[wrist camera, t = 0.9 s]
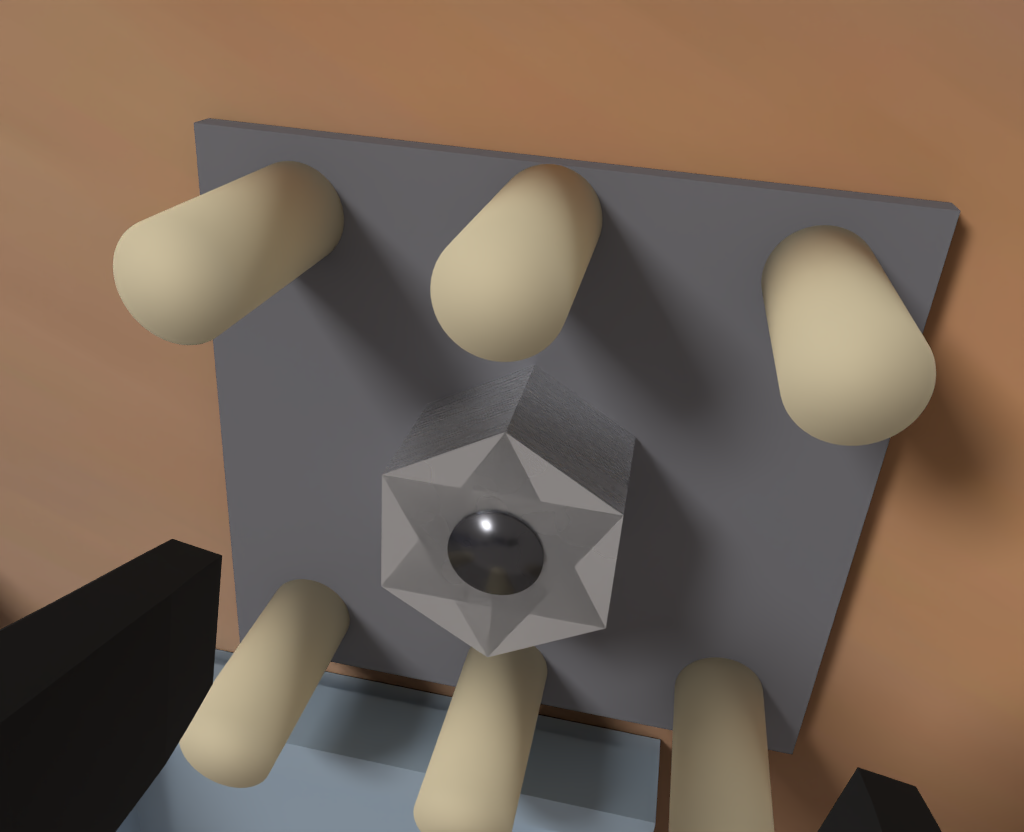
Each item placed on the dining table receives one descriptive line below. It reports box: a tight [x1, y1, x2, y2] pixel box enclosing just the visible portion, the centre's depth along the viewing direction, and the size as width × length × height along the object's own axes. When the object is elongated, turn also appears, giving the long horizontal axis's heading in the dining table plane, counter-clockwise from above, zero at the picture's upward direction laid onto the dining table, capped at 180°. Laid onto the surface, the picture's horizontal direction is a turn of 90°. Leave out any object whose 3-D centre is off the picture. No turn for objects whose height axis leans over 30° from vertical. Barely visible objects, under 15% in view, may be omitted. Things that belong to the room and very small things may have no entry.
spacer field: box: [113, 118, 960, 832], centre depth 17 cm, size 14×13×5 cm
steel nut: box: [381, 364, 635, 657], centre depth 18 cm, size 4×5×3 cm
